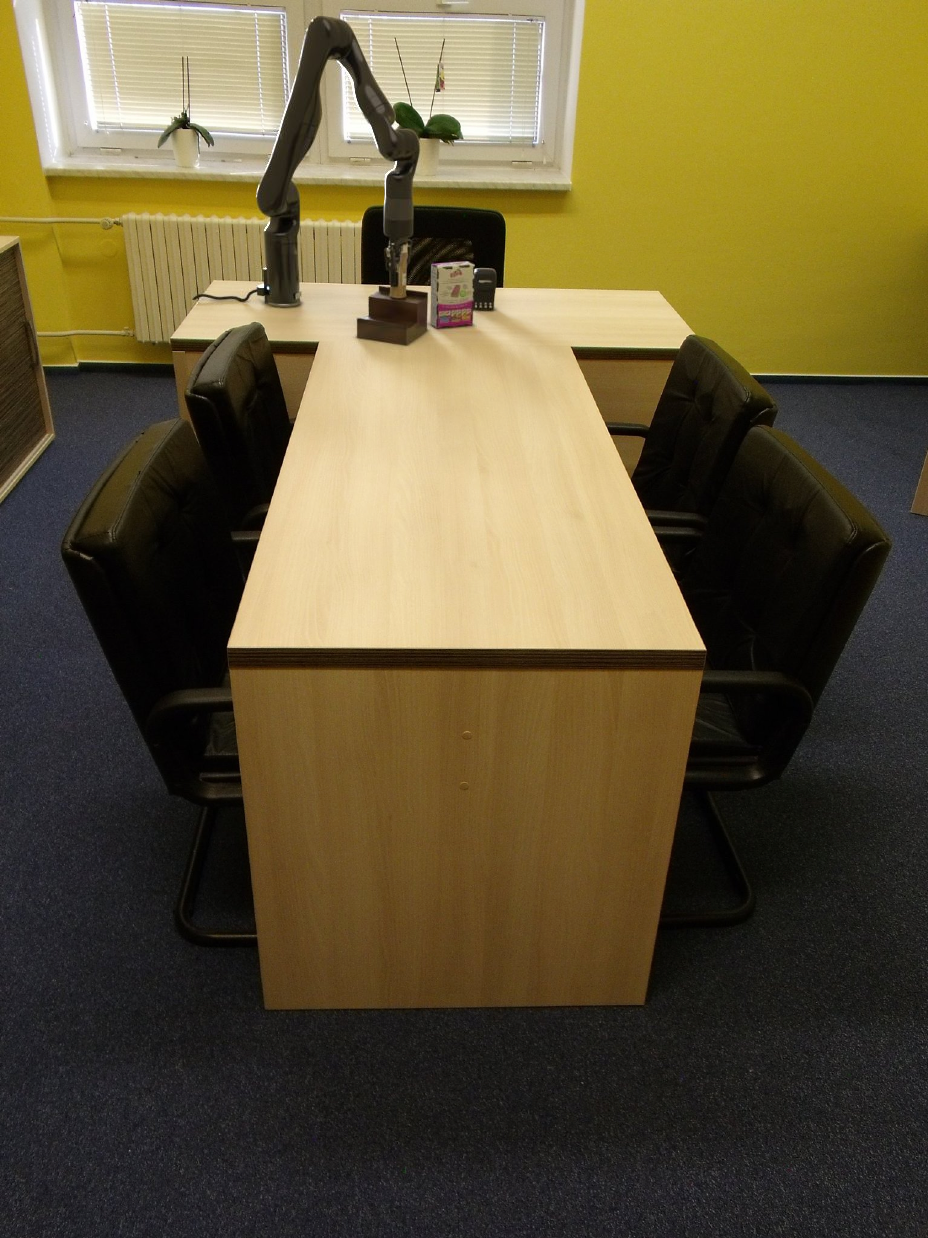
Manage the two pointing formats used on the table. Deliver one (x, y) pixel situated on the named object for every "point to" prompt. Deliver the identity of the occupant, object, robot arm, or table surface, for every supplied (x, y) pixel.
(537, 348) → the table surface
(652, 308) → the table surface
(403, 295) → the sprinkles bottle
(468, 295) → the candy bar box
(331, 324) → the table surface
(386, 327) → the shelf
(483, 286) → the black battery charger
